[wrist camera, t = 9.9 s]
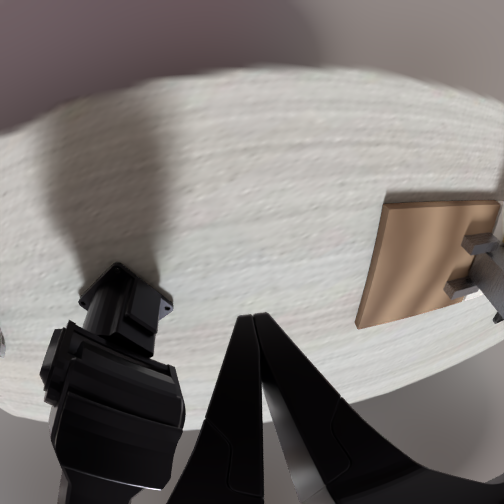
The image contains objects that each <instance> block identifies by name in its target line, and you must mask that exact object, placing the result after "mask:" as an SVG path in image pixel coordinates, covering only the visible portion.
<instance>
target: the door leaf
mask: <svg viewBox="0 0 504 504" xmlns="http://www.w3.org/2000/svg"><path fill="white" fill-rule="evenodd" d="M500 206H501V204H499V203H498V202H497V201H495V200H474V201H436V202H411V203H390V204H383V208H382V213H381V218H380V223H379V228H378V233H377V238H376V243H375V247H374V252H373V256H372V260H371V264H370V268H369V273H368V276H367V280H366V284H365V288H364V292H363V295H362V299H361V303H360V306H359V310H358V313H357V316H356V320H355V325H356V327H357V329H363V328H367V327H371V326H376V325H380V324H384V323H388V322H392V321H396V320H400V319H404V318H408V317H411V316H415V315H419V314H422V313H426V312H429V311H433V310H436V309H440V308H443V307H446V306H449V305H453V304H456V303H459V302H462V300H463V298H464V296H463V297H459V298H456V299H453V300H451V299H450V298H449V297H448V295H447V294H446V293H445V292H444V290H443V288H444V286H445V284H446V281H450V280H454V279H458V278H462V277H466V276H468V274H469V272H470V269H471V267H472V265H473V262H474V260H475V257H476V255H477V254H476V255H471V256H470V254H469V253H468V252H467V251H466V250H465V249H464V248H463V247H462V246H461V243H462V240H463V237H464V236H466V235H473V234H480V233H488V232H491V233H492V230H493V227H494V224H495V221H496V218H497V215H498V212H499V209H500Z"/></svg>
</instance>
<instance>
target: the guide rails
mask: <svg viewBox="0 0 504 504" xmlns="http://www.w3.org/2000/svg"><path fill="white" fill-rule="evenodd" d="M499 243H500V240H498V239H497V238H496V237H495V236H494V235H493V234H492V233H491V232H488V233H480V234H473V235H466V236H464V237H463V240H462V243H461V246H462V247H463V248H464V249H465V250H466V251H467V252H468V253H469V254H470V256H471V255H476V254H481V253H486V252H491V251H495V250H497V248H498V245H499ZM443 290H444V292H445V293H446V294H447V295H448V297H449V298H450V299H451V300H453V299H456V298H459V297H463V296H466V295H469V294H472V293H475V292H478V290H479V288H478V287H477V285H476V284H475V283H474V282H473V281H472V280H471V279H470V277H469V276H466V277H462V278H458V279H454V280H450V281H446V284H445V286H444V288H443Z"/></svg>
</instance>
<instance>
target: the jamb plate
mask: <svg viewBox="0 0 504 504" xmlns="http://www.w3.org/2000/svg"><path fill="white" fill-rule="evenodd" d="M497 202H498V203H499V204H501V206H500V209H499V212H498V215H497V218H496V221H495V224H494V227H493V230H492V234H493V235H494V236H495V237H496V238H497V239H498V240H500V243H499V245H500V246H504V243H503V242H502V240H503V238H504V201H497ZM481 295H484V294H483V293H482V291H481V290H480V289H479V290H478V292H475V293H472V294H469V295H466V296H464V298H463V300H464V301H466V300H469V299H472V298H475V297H478V296H481Z"/></svg>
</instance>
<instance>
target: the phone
mask: <svg viewBox="0 0 504 504" xmlns="http://www.w3.org/2000/svg"><path fill="white" fill-rule="evenodd" d="M503 320H504V319H503V318H502V316H501V315H500V314H499V312H497V313H496V315H495V317H494V318H493V322H494V323H495V324H496V323H499V322H501V321H503Z"/></svg>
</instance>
